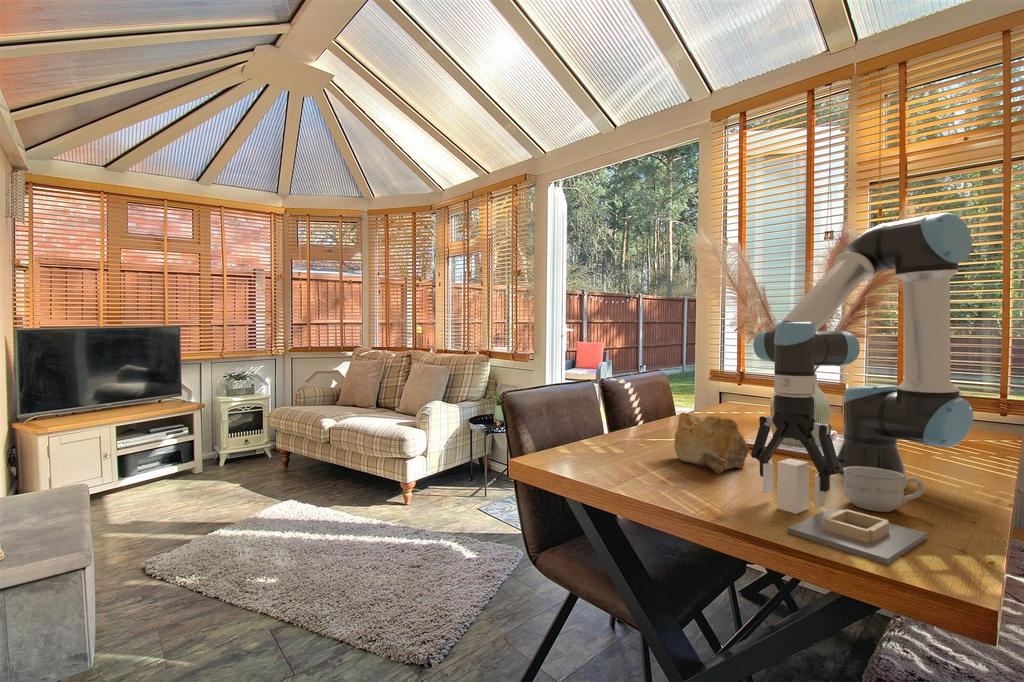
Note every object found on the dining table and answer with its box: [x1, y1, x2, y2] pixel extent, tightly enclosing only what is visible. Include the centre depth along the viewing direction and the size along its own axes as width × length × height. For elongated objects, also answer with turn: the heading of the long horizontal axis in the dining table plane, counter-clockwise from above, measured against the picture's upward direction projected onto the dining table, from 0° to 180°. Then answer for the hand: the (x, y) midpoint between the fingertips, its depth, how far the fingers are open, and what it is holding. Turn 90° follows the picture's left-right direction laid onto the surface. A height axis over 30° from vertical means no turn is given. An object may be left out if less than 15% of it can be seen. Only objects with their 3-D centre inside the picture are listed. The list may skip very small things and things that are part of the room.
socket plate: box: [786, 507, 928, 566], centre depth 95 cm, size 18×16×3 cm
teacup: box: [843, 466, 925, 513], centre depth 109 cm, size 14×11×8 cm
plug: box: [776, 458, 810, 515], centre depth 109 cm, size 5×4×10 cm
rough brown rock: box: [674, 412, 750, 474], centre depth 143 cm, size 23×17×15 cm
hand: (792, 498), depth 109 cm, fingers open, 10 cm apart
